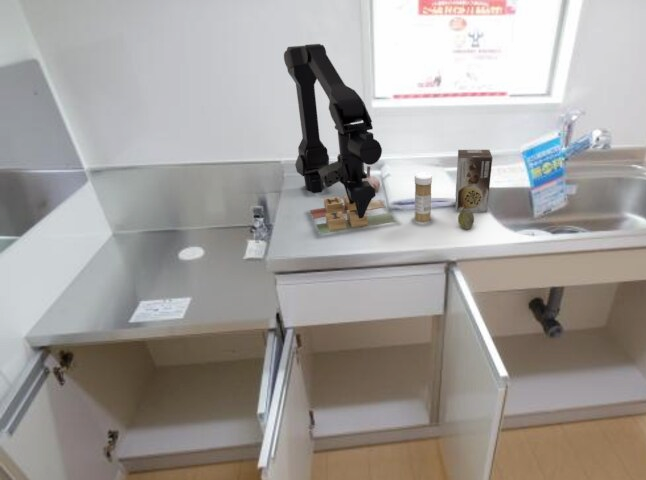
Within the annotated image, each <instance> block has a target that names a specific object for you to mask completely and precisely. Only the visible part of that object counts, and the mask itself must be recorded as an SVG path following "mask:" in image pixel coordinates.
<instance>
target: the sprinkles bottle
mask: <svg viewBox="0 0 646 480" xmlns="http://www.w3.org/2000/svg"><path fill="white" fill-rule="evenodd" d="M432 182H433V175H432V174H431V173H429V172H426V171H425V172H424V171H422V172H421V171H420V172H418V173H415V175H414V185H415V186H414V220H415V222H418V223H429V222H430V221H431V211H432Z"/></svg>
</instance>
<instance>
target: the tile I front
mask: <svg viewBox="0 0 646 480" xmlns="http://www.w3.org/2000/svg"><path fill="white" fill-rule="evenodd" d="M325 216H326V217H325V223H327V226H328V228H329V230H330V231H334V230H340V229H346V228H347V226H346V220H347V217H346V216H345V214H343V213H342V211H340V212H334V213H327V214H325Z"/></svg>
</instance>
